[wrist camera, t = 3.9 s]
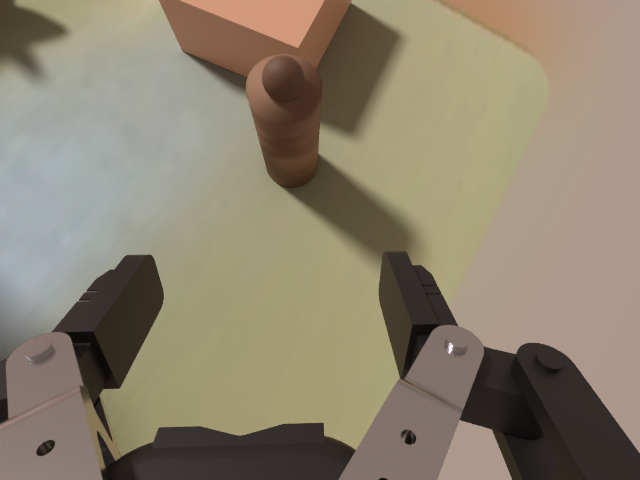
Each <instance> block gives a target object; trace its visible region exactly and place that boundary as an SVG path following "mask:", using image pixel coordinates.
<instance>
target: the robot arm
mask: <svg viewBox="0 0 640 480" xmlns="http://www.w3.org/2000/svg"><path fill="white" fill-rule="evenodd" d="M163 299H164V293H163V288H162V284H161V281H160V277H159V274H158V270H157V267H156V264H155V260H154V258H153V256H151V255H126V256H125V257H124V258H123V259H122V261H121V262H120V263H119V264H118V266H117V267H116V268H115V269H114V270H109V271H108V272H106V273H105V274H103V275H102V276H100V277H99V278H97V279H96V280H95V281H94V282H93V283H92V285H91V286H90V287H89V288H88V289H87V292H85V293H84V294H83V295H82V297H81V298H80V299H79V302H77V303H76V304H75V305H74V306H73V307H72V308H71V310H70V311H69V312H68V313H67V314H66V316H65V317H64V318H63V319H62V320H61V322H60V323H59V324H58V325H57V326H56V328H55V329H54V330H53V331H52V332H51V333H46V334H42V335H40V336H37V337H34V338H32V339H30V340H28V341H26V342H25V343H23V344H22V345H20V346H19V347H18V348H17V349H15V350H14V351H13V352H12V354H11V355H10V356H9V358H8V359H7V360H4V361H0V480H437V478H438V476H439V473H440V470H441V468H442V465H443V462H444V460H445V457H446V454H447V452H448V449H449V446H450V444H451V441H452V438H453V436H454V433H455V430H456V428H457V425H458V422H459V420H461V421H465V422H469V423H472V424H475V425H479V426H483V427H486V428H489V429H492V430H493V433H494V435H495V438H496V440H497V443H498V445H499V448H500V450H501V453H502V455H503V458H504V460H505V463H506V464H507V468H508V470H509V472H510V475H511V477H512V480H640V453H639V452H638V451H637V449H636V448H635V446H634V445H633V444H632V442H631V441H630V440H629V438H628V437H627V436H626V434H625V433H624V431H623V430H622V429H621V427H620V426H619V424H618V423H617V422H616V420H615V419H614V418H613V417H612V415H611V414H610V412H609V411H608V409H607V408H606V407H605V406H604V404H603V403H602V401H601V400H600V398H599V397H598V396H597V394H596V393H595V392H594V390H593V389H592V387H591V386H590V385H589V383H588V382H587V381H586V379H585V378H584V377H583V375H582V374H581V372H580V371H579V370H578V368H577V367H576V366H575V364H574V363H573V362H572V361H571V360H570V359H569V358H568V357H567V356H566V355H564V354H563V353H562V352H560V351H558V350H556V349H554V348H552V347H550V346H547V345H544V344H540V343H527V344H524V345H522V346H520V348H519V349H518V351H517V353H516V354H512V353H508V352H503V351H499V350H494V349H491V348H487V347H484V346H483V345H482V343H481V341H480V340H479V339H478V338H477V337H476V336H475V335H474V334H473V333H471V332H470V331H468V330H466V329H464V328H462V327H459V326H458V325H457V323H456V321H455V319H454V317H453V315H452V313H451V311H450V309H449V307H448V305H447V303H446V301H445V299H444V297H443V295H441V291H440V290H439V288H438V287H437V284H436V282H435V280H434V278H433V276H432V274H431V273H430V272H428V271H427V270H426V269H425V268H424V267H423V266H421V265H412V263H411V261H410V259H409V256H408V254H407V252H405V251H400V252H384V254H383V258H382V266H381V274H380V282H379V301H380V305H381V309H382V313H383V316H384V320H385V324H386V327H387V331H388V335H389V339H390V342H391V346H392V350H393V353H394V357H395V361H396V364H397V368H398V372H399V375H400V379H399V380H398V381H397V382H396V384H395V386H394V387H393V389H392V391H391V392H390V394H389V396H388V397H387V399H386V401H385V402H384V404H383V406H382V407H381V409H380V411H379V412H378V414H377V416H376V417H375V419H374V421H373V423H372V424H371V426H370V428H369V429H368V431H367V433H366V434H365V436H364V438H363V439H362V441H361V443H360V444H359V446H358V448H357V449H356V450H355V449H353V448H352V447H351V446H349V445H347V444H345V443H343V442H341V441H339V440H336V439H334V438H331V437H327V436H324V423H303V424H282V425H278V426H275V427H271V428H268V429H264V430H261V431H257V432H254V433H250V434H247V435H243V436H237V435H232V434H228V433H224V432H220V431H216V430H212V429H208V428H204V427H200V426H196V427H161V428H159V429H158V431H157V434H156V437H155V439H154V442H152V443H149V444H146V445H144V446H141V447H139V448H137V449H135V450H133V451H131V452H129V453H127V454H125V455H124V456H122V457H121V456H120V453H119V450H118V448H117V444H116V441H115V438H114V435H113V431H112V428H111V425H110V422H109V418H108V415H107V412H106V409H105V405H104V402H103V400H102V398H101V396H100V394H101V392H102V390H103V389H119V388H120V387H121V385H122V383H123V381H124V379H125V377H126V375H127V373H128V371H129V369H130V367H131V366H132V364H133V362H134V360H135V358H136V356H137V354H138V352H139V350H140V348H141V346H142V344H143V342H144V340H145V339H146V337H147V335H148V333H149V331H150V329H151V327H152V325H153V323H154V321H155V319H156V317H157V315H158V313H159V311H160V310H161V307H162V305H163Z"/></svg>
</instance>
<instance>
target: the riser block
mask: <svg viewBox="0 0 640 480" xmlns="http://www.w3.org/2000/svg"><path fill="white" fill-rule="evenodd" d="M159 1H160V4H161V6H162V8H163V10H164V12H165V14H166V17H167V19H168V21H169V23H170V25H171V27H172V30H173V32H174V34H175V36H176V38H177V40H178V43H179V45H180V47H181V49H182V51H184V52H187V53H189V54H191V55H194V56H196V57H199V58H201V59H203V60H206V61H208V62H211V63H213V64H216V65H218V66H220V67H223V68H225V69H228V70H230V71H232V72H235V73H237V74H240V75H242V76H245V77H247V78H248V75H249V73H250V71H251V70H252V68H253V67H254V66H255V65H256V64H257V63H259V62H260V61H261V60H263V59H265V58H267V57H270V56H273V55H279V54H289V55H295V56H298V57H301V58H303V59H305V60H306V61H308V62H309V63H310V64H312V65H313V67H314V68H315V69H316V68H317V66H318V65H319V63H320V61H321V59H322V57H323V55H324V53H325V51H326V49H327V48H328V46H329V44H330V42H331V40H332V38H333V36H334V34H335V32H336V31H337V29H338V27H339V25H340V23H341V21H342V19H343V17H344V15H345V14H346V12H347V10H348V8H349V6H350V4H351V1H352V0H159Z"/></svg>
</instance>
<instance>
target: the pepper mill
mask: <svg viewBox="0 0 640 480" xmlns="http://www.w3.org/2000/svg"><path fill="white" fill-rule="evenodd" d="M246 93H247V97H248V101H249V104H250V108H251V112H252V116H253V119H254V123H255V127H256V131H257V134H258V138H259V142H260V146H261V149H262V153H263V157H264V160H265V164H266V168H267V171H268V174H269V175H270V177H271V178H272V179H273V180H274V181H275V182H276V183H278V184H279V185H282V186H284V187H299V186H302V185H304V184H306V183H307V182H309V181H310V180H311V179H312V178H313V176H314V175H315V173H316V170H317V163H318V146H319V129H320V112H321V95H322V83H321V78H320V76H319V74H318V72H317V70H316V69H315V68H314V67H313V65H312V64H310V63H309V62H308V61H306V60H305V59H303V58H301V57H298V56H295V55H289V54H279V55H273V56H270V57H267V58H265V59H263V60H261V61H260V62H259V63H257V64H256V65H255V66H254V67H253V68H252V70H251V71H250V73H249V75H248V78H247V81H246Z"/></svg>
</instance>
